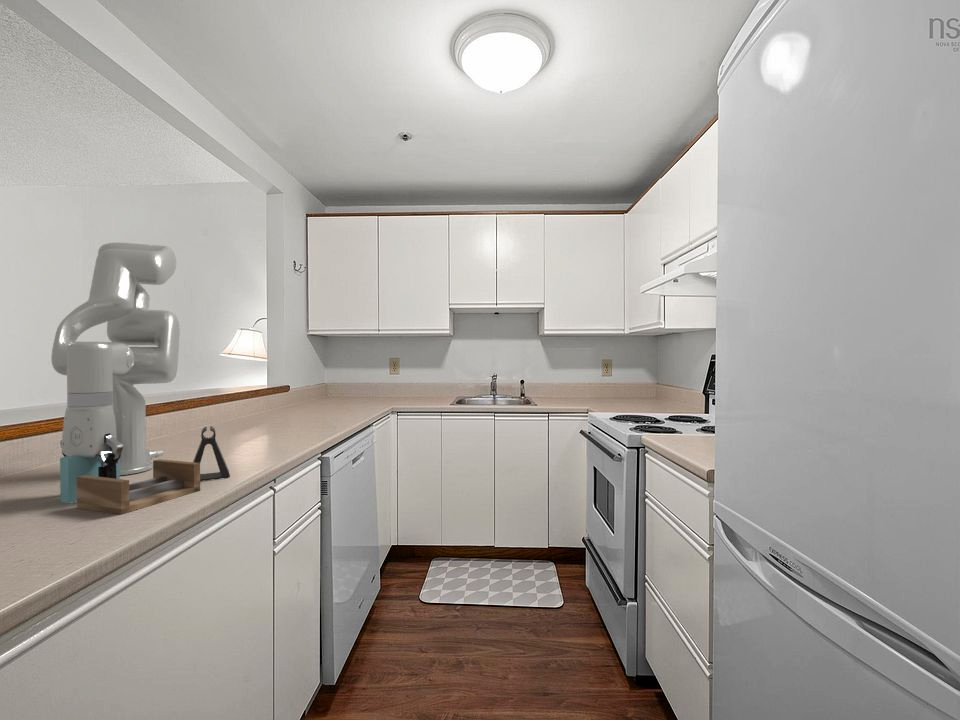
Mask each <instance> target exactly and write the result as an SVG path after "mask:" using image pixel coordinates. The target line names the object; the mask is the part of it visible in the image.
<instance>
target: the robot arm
mask: <svg viewBox="0 0 960 720" xmlns="http://www.w3.org/2000/svg"><path fill="white" fill-rule="evenodd" d="M176 257H177V256H176V254H175V252H174V251H173V250H172V248H170V247H168V246H165V245H158V244H157V245H156V244H144V243H131V242H109V243H105V244H102V245H101V246H100V247H99V249H98V251H97V256H96V260H95V265H94V270H93V273H92V274H93V275H92V281H91V284H90V285H91V286H90V290H89V297H88V300H87V301H85V302H84V303H82V304H80V305H78V306H77V307H76V308H74V309H73V310H71V312H70V313H69V314H67V315H66V316H65V318H63V319H62V321H61V322H60V323H59V325H58V326H57V328H56V332H55V335H54V340H53V343H52V348H51V364H52V368H53V369H54V372H57V373H58V374H60V375H62V376H66V409H65V412H64V417H63V422H62V435H61V440H60V441H59V445H60V447H61V448H60V449H61V453H62V456H63V457H68V456H81V457H85V458H92V457H95V456H96V457H97V459H98V461H99V463H100V464H101V467H98V477H105V478H114V479H116V464H118V460H119V466H120V476H125V475H134V474H137V473H138V474H139V473H143V472H146V471H149V470H152V469H153V461H152V459H154V458H155V459H156V458H160V457H163V456H164V451H163V449H157V450H152V451H151V450H150V449H147V442H146V441H147V438H146V437H147V434H146V433H147V432H146V431H147V429H146V428H147V427H146V425H147V423H146V422H147V421H146V420H147V419H146V418H147V416H146V415H147V413H146V405H147V404H146V401H145V397H144V396H143V394H142V393H141V392H140V391H139V390H138V389H137V388H136V387H135V386H134V385H142V384H143V385H145V384H146V385H147V384H149V385H150V384H152V385H153V384H157V385H158V384H167V383H171V382H173V381H174V380H175V378H176V376H177V373H178V367H179V365H178V364H179V348H180V330H181V329H180V322H179V320H178V317H177V315H176V314H175V313H174V312H171V311H170V310H165V309H164V310H161V309H150V300H151V299H150V295H149V293H148V291H147V290H146V289H145V288H144V287H143V286H142V285H152V286H155V285H156V286H159V285H164V284H165V283H167V282H168V281H169V280H170V279H171V278H172V276H173V275H174V274H175V271H176V268H177V258H176ZM104 323H106V335H107V337H108V340H109V341H77V340H78V338H79V337H80V336H81V335H82V334H83V333H85V331H87V330H89V329H91V328H94V327H96V326H98V325H101V324H104ZM104 456H108V457H107V458H106V459H105V457H104Z"/></svg>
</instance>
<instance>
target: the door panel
mask: <svg viewBox="0 0 960 720" xmlns="http://www.w3.org/2000/svg"><path fill="white" fill-rule="evenodd" d="M104 457H105V459H106V458H107V457H108V456H104ZM59 466H60V467H59V469H60V470H59V473H60V474H59V475H60V476H59V477H60V479H59V483H60V485H59V487H60V488H59V489H60V492H59V493H60V501H59V502H60V503H61V502H65V503H64V504H68V503H69V504H71V503H70V502H73V503H76V502H75V501H77V477H79V476H84V475H88V476H97V477H98V467H101V464H100V463H99V461H98V459H97V457H96V456H95V457H92V458H85V457H81V456H68V457H64V456H63V457H60V458H59ZM120 476H121V475H120V466H119V460H118V464H116V479H121V478H120Z"/></svg>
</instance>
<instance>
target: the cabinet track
mask: <svg viewBox="0 0 960 720" xmlns="http://www.w3.org/2000/svg"><path fill="white" fill-rule="evenodd" d="M152 463H153V468H152V472H153V473H152V478H150V479H146V480H141V481H137V482H133V483H130V480H129V479H123V478H122V479H121V478H120V479H114V478H105V477H97V476H88V475H84V476H79V477H77V502H76V509H80V508H83V509H82V510H87V509H90V510H89V511H94V510H95V512H101V511H102V513H108V512H109V514H115V513H116V515H124V514H127V513H130V511H131V512H133V511H137V510H141V509H144V508H146V506H147V507H150V505H151V506H154V505H156V504H159V503H160V504H161V503H163V502H167V501H170V500H172V499H173V498H174V499H176V498H180V497H182V496H187V495H190V494H193V493H197V492H200V491H201V481H200V474H201V462H200V463H195V462H193V461H182V460H171V459H170V460H169V459H160V458H159V459H154V460H153V461H152ZM153 504H154V505H153ZM143 507H144V508H143ZM140 508H141V509H140ZM136 509H137V510H136Z"/></svg>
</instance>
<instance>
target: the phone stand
mask: <svg viewBox="0 0 960 720" xmlns="http://www.w3.org/2000/svg"><path fill="white" fill-rule="evenodd" d="M209 429H210V430H209V431H210V432H212V433H213V434H212V435H211V436H209V437H208V436H207V437H206V436H205V434H204V433H205V432H207V430H208V428H207V426H204V427H203V428H202V430H201V435H200V436H201V441H200V443H199V445H198V448H197V450H196V452H195V455H194V458H193V461H192V462H195V463H200V464H201V462H202V458H203V455H204V452H205V448H206V446H208V445H211V448H212V450H213V454H214V457H215V460H216V464H217V466H218V470H219V471H218V472H209V473H200V482H203V481H202V480H205V481H211V480H210V479H215V480H220V479H219V478H224V479H229V478H231V475H230V470H229V467H228V465H227V463H226V460H225V458H224V456H223V453H222V451H221V448H220V447H219V444H218V442H217V439H216V436H217V435H216V434H217V433H216V429H215V428H214V426H210V427H209ZM228 477H229V478H228Z"/></svg>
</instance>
